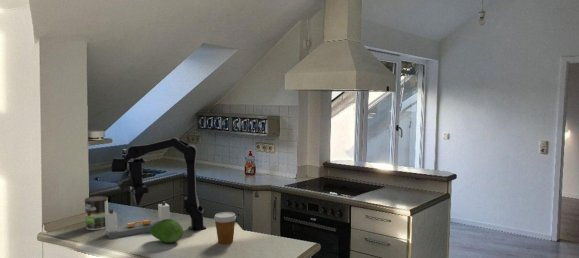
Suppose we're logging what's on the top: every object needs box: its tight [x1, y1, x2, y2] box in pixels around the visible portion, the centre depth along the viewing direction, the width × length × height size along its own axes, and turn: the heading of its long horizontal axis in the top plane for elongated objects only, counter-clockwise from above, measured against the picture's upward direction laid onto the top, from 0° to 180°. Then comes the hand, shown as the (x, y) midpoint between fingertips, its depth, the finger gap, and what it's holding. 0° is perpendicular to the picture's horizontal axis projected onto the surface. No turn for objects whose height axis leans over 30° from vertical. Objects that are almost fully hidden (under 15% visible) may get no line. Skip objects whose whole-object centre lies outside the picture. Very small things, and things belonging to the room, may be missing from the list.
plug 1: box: [105, 208, 119, 232], centre depth 208 cm, size 5×4×10 cm
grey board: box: [105, 219, 160, 240], centre depth 215 cm, size 8×28×2 cm, turn 123°
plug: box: [157, 200, 171, 221], centre depth 221 cm, size 5×4×10 cm
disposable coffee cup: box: [213, 211, 237, 245], centre depth 198 cm, size 10×10×12 cm
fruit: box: [149, 218, 184, 244], centre depth 200 cm, size 15×10×10 cm, turn 64°
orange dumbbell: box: [126, 219, 151, 227], centre depth 215 cm, size 3×10×2 cm, turn 122°
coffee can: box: [84, 195, 109, 231], centre depth 222 cm, size 10×10×14 cm
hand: (137, 205), depth 215 cm, fingers closed
